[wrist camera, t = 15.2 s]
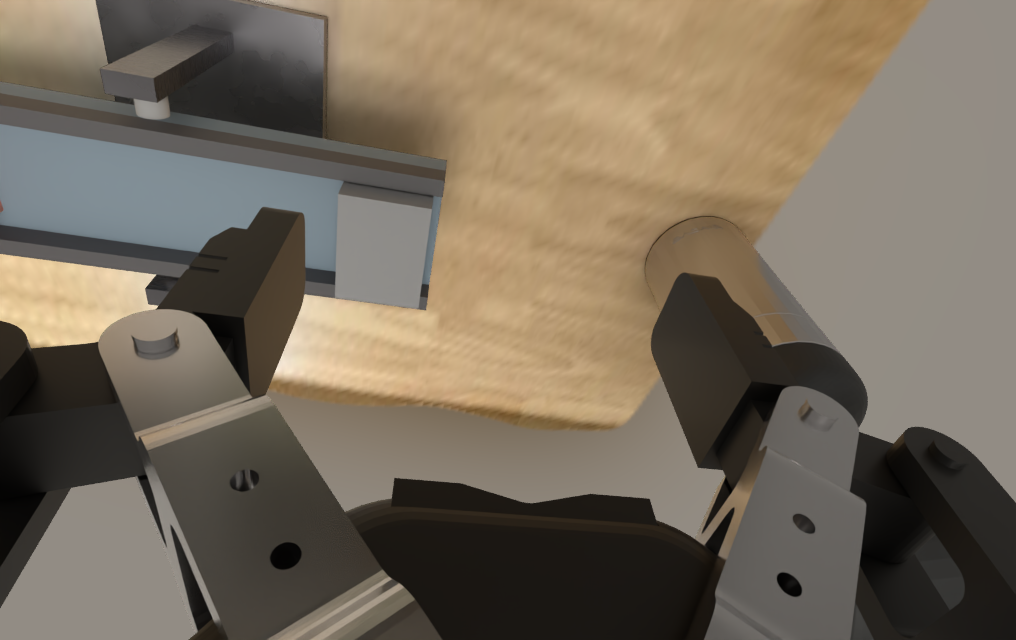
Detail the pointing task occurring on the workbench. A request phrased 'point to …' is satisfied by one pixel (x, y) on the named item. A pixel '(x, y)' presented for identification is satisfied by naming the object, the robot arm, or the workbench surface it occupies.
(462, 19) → the workbench surface
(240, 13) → the pivot stand
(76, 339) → the workbench surface
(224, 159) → the balance beam
